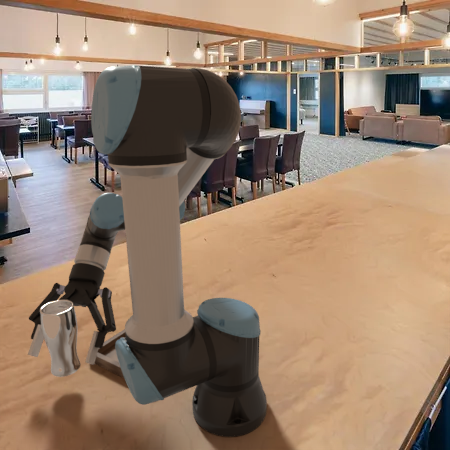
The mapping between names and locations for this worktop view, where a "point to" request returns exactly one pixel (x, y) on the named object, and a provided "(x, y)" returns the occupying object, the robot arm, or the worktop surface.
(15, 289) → the worktop surface
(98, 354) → the walnut tray
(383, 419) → the worktop surface
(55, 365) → the silver metal cup
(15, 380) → the worktop surface
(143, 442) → the worktop surface
